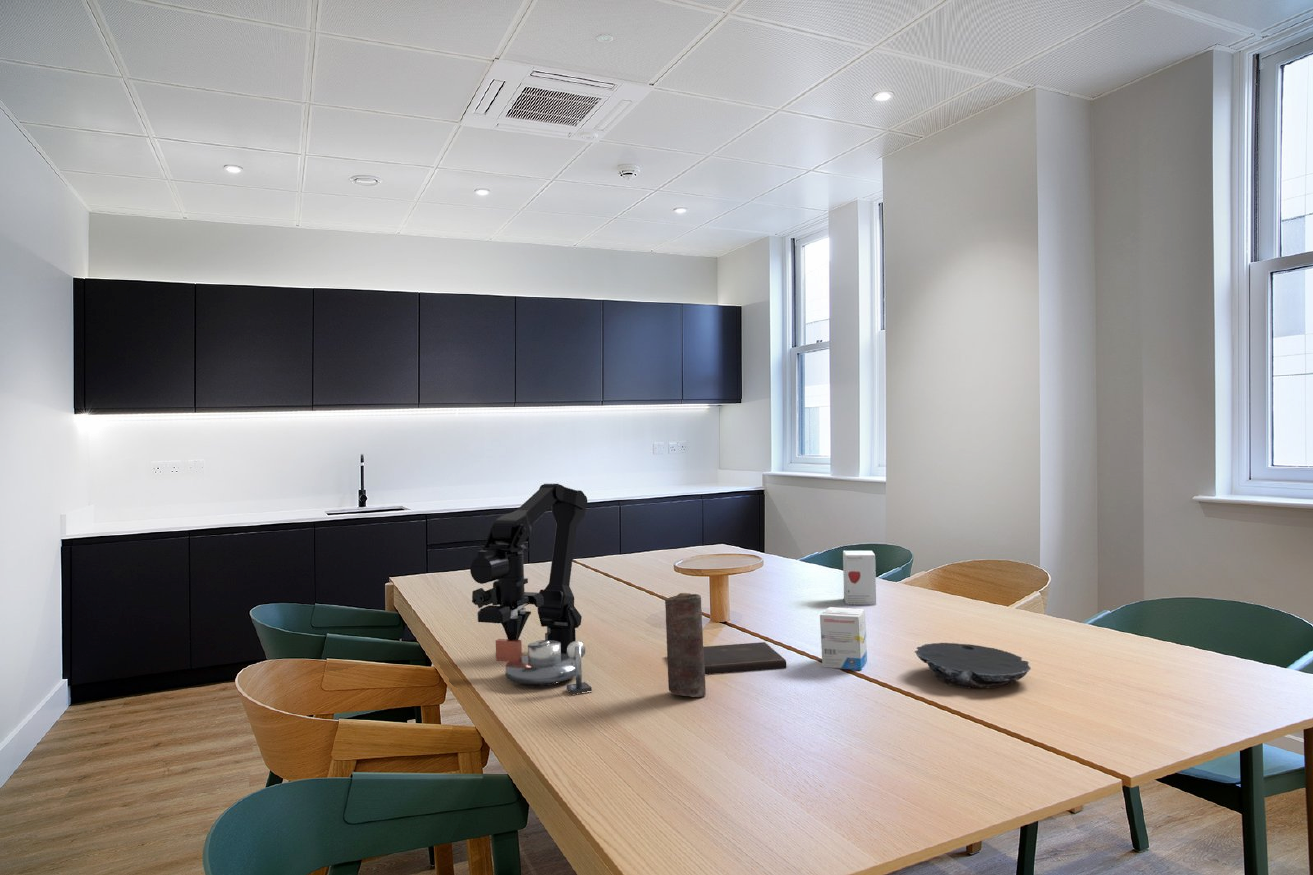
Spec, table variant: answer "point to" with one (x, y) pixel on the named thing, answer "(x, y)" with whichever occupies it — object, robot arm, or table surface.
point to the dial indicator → (577, 667)
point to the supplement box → (859, 577)
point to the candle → (685, 645)
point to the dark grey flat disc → (972, 665)
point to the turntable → (526, 674)
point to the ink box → (843, 638)
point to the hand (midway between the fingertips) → (513, 645)
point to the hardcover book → (741, 658)
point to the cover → (544, 653)
